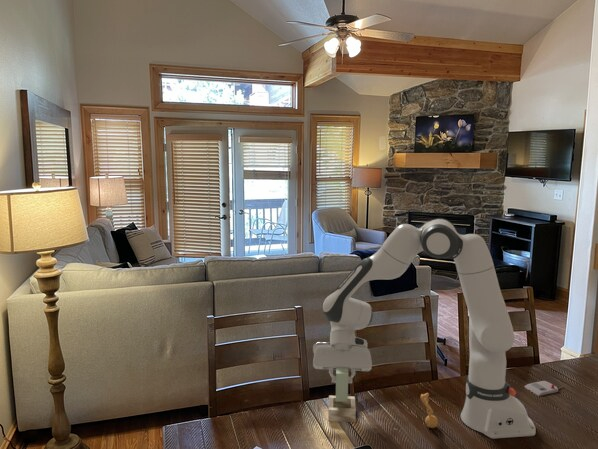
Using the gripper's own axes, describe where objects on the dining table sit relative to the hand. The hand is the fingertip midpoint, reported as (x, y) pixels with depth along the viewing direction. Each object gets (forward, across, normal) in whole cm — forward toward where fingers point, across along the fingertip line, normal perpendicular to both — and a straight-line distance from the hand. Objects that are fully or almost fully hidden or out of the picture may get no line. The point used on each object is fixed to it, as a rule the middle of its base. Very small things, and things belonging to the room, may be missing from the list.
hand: (342, 382), depth 149 cm
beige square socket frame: (+8, 0, +8) cm, 12 cm away
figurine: (+12, +28, +5) cm, 31 cm away
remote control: (-8, +77, +25) cm, 81 cm away
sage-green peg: (+4, 0, +4) cm, 6 cm away
